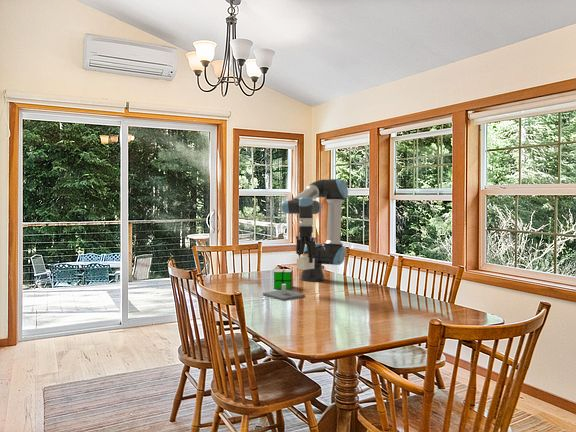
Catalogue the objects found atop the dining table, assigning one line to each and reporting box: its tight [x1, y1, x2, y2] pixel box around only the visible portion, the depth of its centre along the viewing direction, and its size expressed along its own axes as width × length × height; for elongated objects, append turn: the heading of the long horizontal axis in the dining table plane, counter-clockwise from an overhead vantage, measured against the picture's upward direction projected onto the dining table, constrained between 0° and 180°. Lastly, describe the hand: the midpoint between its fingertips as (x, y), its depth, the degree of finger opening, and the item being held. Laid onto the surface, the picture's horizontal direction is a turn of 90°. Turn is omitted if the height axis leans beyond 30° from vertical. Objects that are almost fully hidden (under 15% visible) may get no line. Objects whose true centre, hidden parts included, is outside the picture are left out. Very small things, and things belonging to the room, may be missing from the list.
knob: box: [296, 253, 315, 271], centre depth 250 cm, size 8×6×8 cm
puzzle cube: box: [273, 268, 294, 290], centre depth 268 cm, size 10×10×10 cm
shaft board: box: [262, 284, 306, 301], centre depth 244 cm, size 15×17×6 cm
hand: (305, 267), depth 250 cm, fingers closed on knob, 6 cm apart
